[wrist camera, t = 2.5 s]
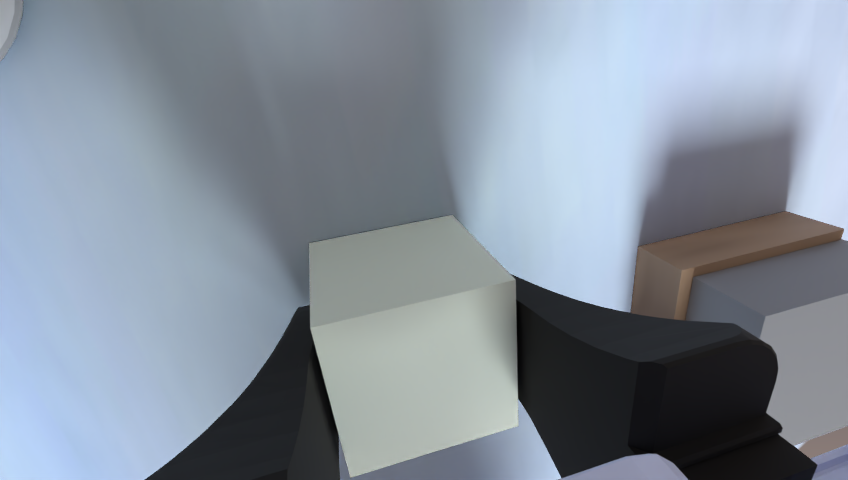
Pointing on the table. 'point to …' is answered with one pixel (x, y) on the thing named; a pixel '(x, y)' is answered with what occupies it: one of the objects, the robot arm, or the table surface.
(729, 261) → the walnut block
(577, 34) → the table surface
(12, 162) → the table surface
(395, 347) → the sage block
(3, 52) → the energy drink
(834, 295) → the grey flat block
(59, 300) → the table surface
